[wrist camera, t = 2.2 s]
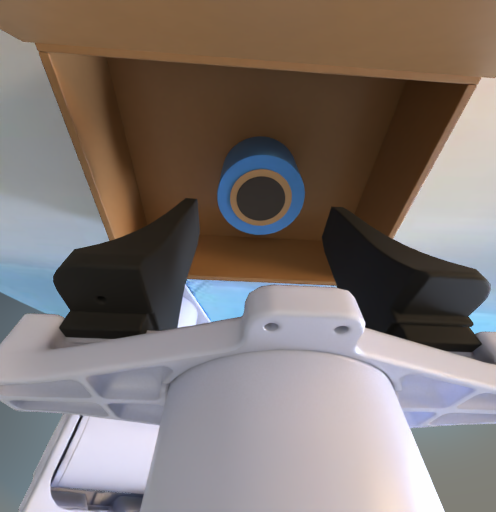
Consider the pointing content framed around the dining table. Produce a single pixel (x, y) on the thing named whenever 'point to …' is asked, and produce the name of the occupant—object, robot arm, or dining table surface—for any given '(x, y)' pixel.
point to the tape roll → (260, 186)
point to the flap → (275, 30)
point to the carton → (243, 127)
